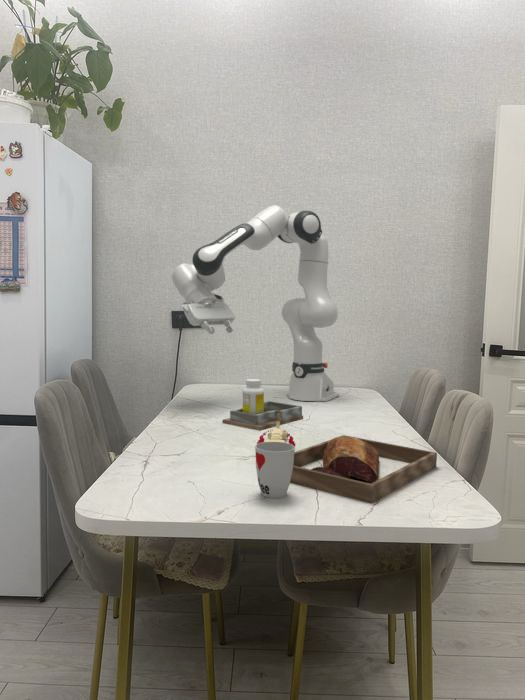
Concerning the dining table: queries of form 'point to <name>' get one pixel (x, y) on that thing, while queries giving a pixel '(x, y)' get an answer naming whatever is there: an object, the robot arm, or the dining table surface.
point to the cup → (274, 467)
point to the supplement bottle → (253, 397)
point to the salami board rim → (357, 489)
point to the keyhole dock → (265, 416)
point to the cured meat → (350, 459)
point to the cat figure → (277, 434)
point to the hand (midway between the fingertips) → (221, 332)
